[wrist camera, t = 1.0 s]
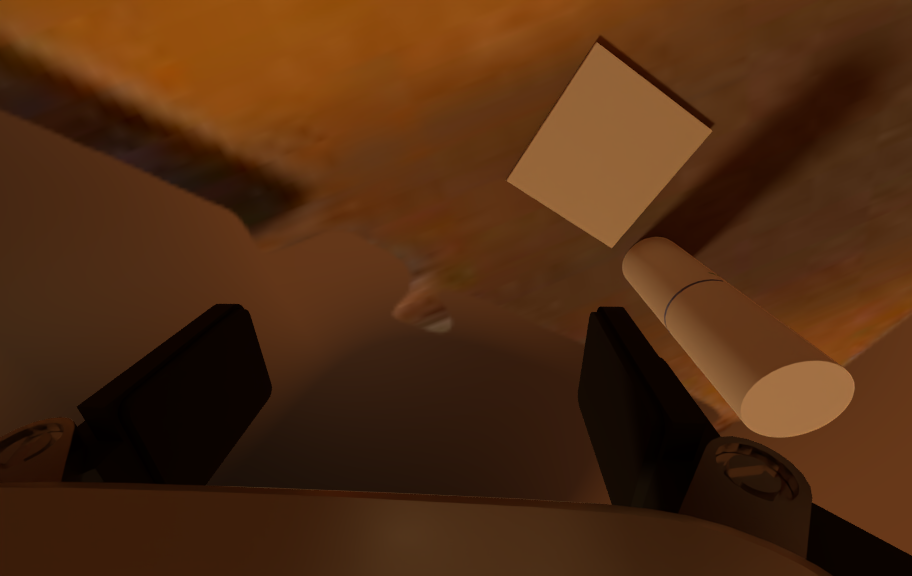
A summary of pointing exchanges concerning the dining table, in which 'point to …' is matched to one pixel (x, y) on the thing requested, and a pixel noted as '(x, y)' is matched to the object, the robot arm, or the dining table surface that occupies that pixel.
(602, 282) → the dining table surface
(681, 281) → the cylindrical container
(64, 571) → the robot arm
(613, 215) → the mat
